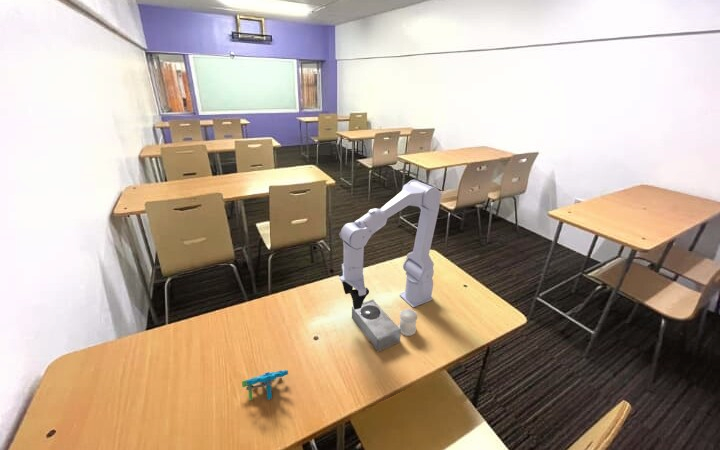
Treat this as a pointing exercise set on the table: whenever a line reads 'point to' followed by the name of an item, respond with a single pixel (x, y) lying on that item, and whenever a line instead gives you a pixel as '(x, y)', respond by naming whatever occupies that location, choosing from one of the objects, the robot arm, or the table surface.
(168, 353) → the table surface
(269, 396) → the blue legged part
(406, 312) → the white cabinet knob
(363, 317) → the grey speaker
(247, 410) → the table surface
